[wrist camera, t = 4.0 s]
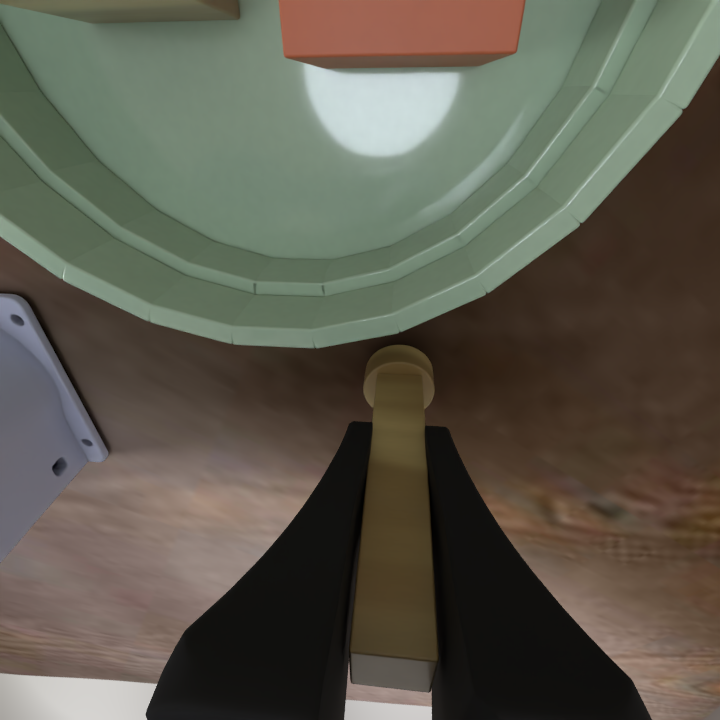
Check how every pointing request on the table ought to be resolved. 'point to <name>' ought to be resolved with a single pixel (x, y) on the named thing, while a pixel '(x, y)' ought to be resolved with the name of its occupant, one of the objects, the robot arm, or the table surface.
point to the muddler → (396, 532)
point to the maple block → (133, 10)
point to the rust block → (399, 32)
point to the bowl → (322, 162)
